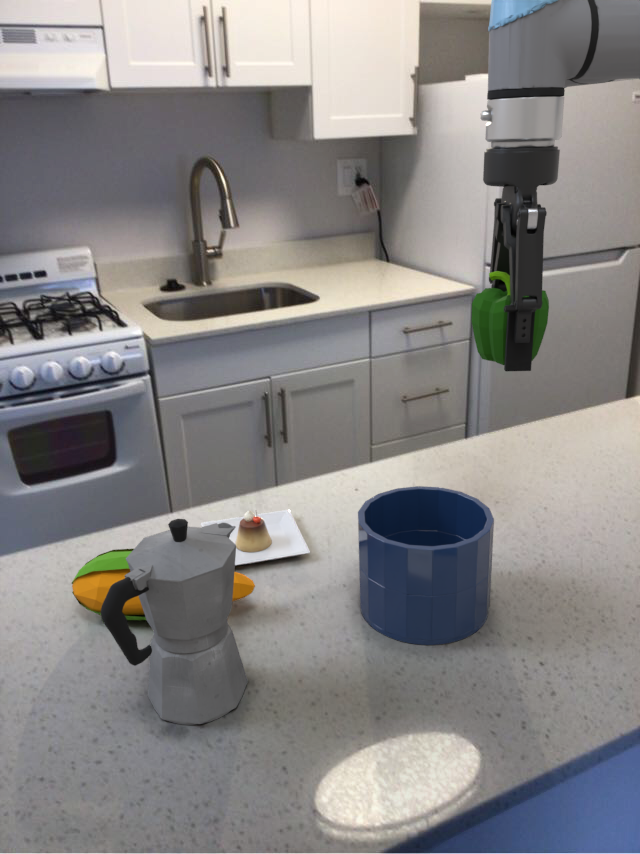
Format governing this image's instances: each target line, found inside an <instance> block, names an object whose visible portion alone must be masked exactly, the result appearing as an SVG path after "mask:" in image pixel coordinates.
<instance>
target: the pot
mask: <svg viewBox="0 0 640 854" xmlns="http://www.w3.org/2000/svg"><path fill="white" fill-rule="evenodd" d="M494 527H495V518H494V516H493V514H492V511H491V509H490V507H488V506H487V505H486V504H485V503H484V502H482V501H481V500H480V499H479V498H477V497H475V496H472V495H470V494H467V493H465V492H463V491H460V490H455V489H451V488H446V487H441V486H422V485H421V486H420V485H418V486H416V485H415V486H406V487H398V488H394V489H393V488H392V489H390V490H387V491H383V492H380V493H377V494H375V495H373V496H372V497H370V498H369V499H367V500H365V501H364V502H363V504H362V505H361V506H360V508H359V509H358V511H357V531H358V533H357V535H358V537H357V538H358V572H359V573H358V577H359V578H358V579H359V580H358V581H359V607H360V612H361V615H362V617H363V618H364V620H365V621H366V623H367V624H368V625H369V626H370V627H371V628H373V630H375V631H377V632H378V633H380V634H382V635H384V636H385V637H387V638H390V639H393V640H394V641H395V640H396V641H399V642H402V643H407V644H412V645H421V646H435V645H437V646H438V645H446V644H452V643H454V642H458V641H461V640H465V639H466V638H468V637H470V636H472V635H474V634H475V633H477V632H478V631H479V630H480V629H481V628H482V627H484V625H485V623H486V621H487V619H488V617H489V612H490V611H489V610H490V606H491V594H492V593H491V592H492V591H491V590H492V569H493V551H494V550H493V547H494V532H495V531H494V529H495V528H494Z"/></svg>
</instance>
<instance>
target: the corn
mask: <svg viewBox="0 0 640 854" xmlns="http://www.w3.org/2000/svg"><path fill="white" fill-rule="evenodd" d="M134 549H135V548H121V549H119V548H118V549H117V548H116V549H112V550H109V551H105V552H103V553H100V554H98V555H96V556H94V557H93V558H92V559H90V560H89V561H87V562H86V563H85V564H84V565H83V566H82V567H80V569H79V570H78V572H77V573H76V575H75V576H74V578H73V579H72V582H71V583H70V584H71V587H72V595H73V596H74V598H75V599H76V601H77V603H78V604H79V605H81V606H82V607H83V608H84V609H86V610H87V611H89V612H92V613H95V614H97V615H99V616H101V607H102V604H103V602H104V600H105V598H106V596H107V593H108V591H109V589H110V587H111V586H112V585H113V584H114V583H116V582H118V581H120V580H122V579H124V578H125V575H126V574H128V573H129V572H131V571H130V568H129V565H128V562H127V560H126V558H127V557H128V555H129V554H130V553H131V552H132V551H133V550H134ZM255 588H256V584H255V583H254V581H253V579H251V578H250V577H248V576H247V575H245V574H243V573H242V572H241V573H240V572H237V571H234V584H233V598H232V603H233V602H236V601H239V600H242V599H245V598H246V597H248V596H249V595H251V594H252V593H253V591H254V589H255ZM122 613H123V614H124V615H125V617H126V619H127V621H147V620H146V617H145V614H144V611H143V608H142V605H141V602H140V599H139V596H136V597H134V598H131V599H130V600H128V601H127V602H125V604H124V607H123V610H122Z"/></svg>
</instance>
